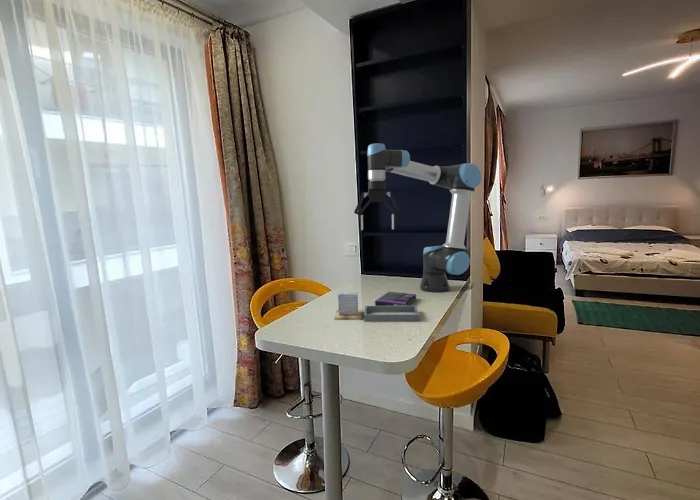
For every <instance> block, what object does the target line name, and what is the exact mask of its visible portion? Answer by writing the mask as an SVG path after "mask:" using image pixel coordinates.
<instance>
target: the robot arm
mask: <svg viewBox="0 0 700 500" xmlns="http://www.w3.org/2000/svg"><path fill="white" fill-rule="evenodd" d="M366 155H367V180H368V182H367V185H368V187H367V188H368V189H367V191H368V192H364V191H363V192H361V193H360V199H359V200H358V203H357V205H356V208H355V209H354V212H353V213H354V214H355V215H357V218H358V223H360V225H361V226H360V231H363V230H364V214H363V213H364V211H365V210H366V209H367V207H369V205H370V204H371V202H372V203H382V202H383V203H384V204H385V206H386V207H387V208H388V209H389V210H390V211H391V212H392V214H391V230H395V222H397V215H398V214H400V213H401V211H402V210H401V209H400V207H399V205H398V203H397V201H396V199H395V197H394V193H393V190H392V191H391V190H390V191H386V185H387V184H386V181H385V180H386V172H387V173H388V172H389V173H393V174H396V175H397V174H398V175H401V176H403V177H409V178H412V179H417V180H422V181H425V182H429V184H430V185H433V186H437V187H441V188H445V189H449V192H450V194H451V202H450V209H449V218H448V223H447V230H446V231H447V233H446V238H445V243H443V244H442V245H435V246H426V247H424V248H423V253H422V260H423V262H422V263H423V272H422V273H423V275H422V278H421V282H420V284H419V289H420V290H421V291H424V292H429V293H430V292H431V293H442V292H443V293H444V292H447V290H448V291H449V290H450V285H449V284H450V283H449V281H448V278H447V274H449V275H454V276H455V275H456V276H459V275H462V274H464V272H466V271H467V270H468V268H469V266H470V262H471V258H470V255H469V254H468V252H467V247H466V245H465V237H466V232H467V224H468V223H467V222H468V217H469V216H468V215H469V208H470V201H471V197H472V196H473V194H475V189H476V188H477V187H479V185H480V184H481V182H482V172H481V170H480V169H479V167H478V166H477V164H474V163H470V162H469V163H465V162H464V163H461V164H456V165H449V166H439V165H433V166H432V165H428V164H424V163H420V162H416V161H412V160H411V155H410V153H409V151H408V150H403V149H386V145H385V144H384V143H381V142H380V143H376V142H375V143H370V144H369V145H368V146H367V154H366ZM387 196H388V197H389V198H390V200H391V201H392V203H393V206H394V207H393V206H391V204H390V203H389V202H388V201H387V199H386V197H387ZM366 197H368V198H369V199H368V200H367V202H366V203H365V204H364V205H363V206H362V207H361V205H362V204H363V200H364V198H366ZM360 207H361V209H360ZM394 208H395V209H396V210H395V209H394ZM359 209H360V210H359ZM446 273H447V274H446Z"/></svg>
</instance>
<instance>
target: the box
mask: <svg viewBox="0 0 700 500" xmlns="http://www.w3.org/2000/svg"><path fill="white" fill-rule="evenodd" d="M416 300H417V294H416V293H407V292H397V291H395V292H394V291H388V292H386V293H385V294H382V295H381V296H380V297H379V298H377V299H376V300H375V301H374V303H375V304H374V306H412V304H413V303H414V302H415V301H416Z"/></svg>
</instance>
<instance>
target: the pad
mask: <svg viewBox="0 0 700 500" xmlns="http://www.w3.org/2000/svg"><path fill="white" fill-rule="evenodd" d="M363 311H364V310H363V309H358V314H357V315H339V309H337V310H336V313H335V315H334V320H336V321H337V320H344V321H345V320H357V321H358V320H363V319H362V318H363Z"/></svg>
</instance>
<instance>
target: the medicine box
mask: <svg viewBox="0 0 700 500" xmlns="http://www.w3.org/2000/svg"><path fill="white" fill-rule="evenodd" d="M358 294H359V293H358V292H356V291H354V292H353V291H352V292H350V291H344V292H342V291H341V292H339V293H338V294H337V300H338V301H337V303H338V304H337V305H338V310H339V315H357V314H358V310H359V302H358V298H359V297H358Z"/></svg>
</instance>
